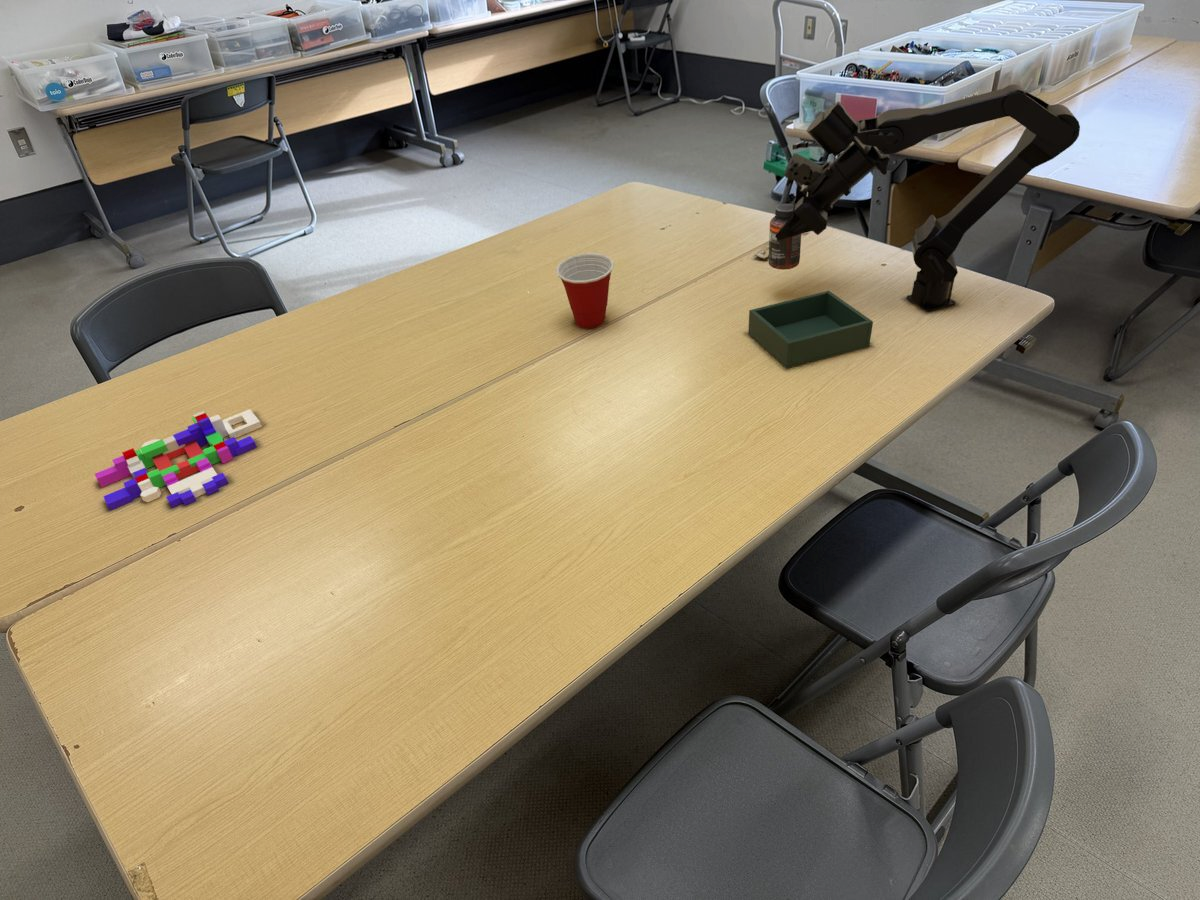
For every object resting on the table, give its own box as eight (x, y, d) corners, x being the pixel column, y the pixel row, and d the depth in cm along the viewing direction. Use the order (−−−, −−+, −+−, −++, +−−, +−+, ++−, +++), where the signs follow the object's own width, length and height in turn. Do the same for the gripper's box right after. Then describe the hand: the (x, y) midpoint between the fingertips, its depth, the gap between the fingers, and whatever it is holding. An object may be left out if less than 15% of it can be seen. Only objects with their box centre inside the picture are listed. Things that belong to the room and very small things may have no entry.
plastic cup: (553, 332, 151) (546, 274, 144) (575, 306, 159) (569, 250, 152) (605, 339, 147) (600, 280, 140) (625, 312, 155) (622, 255, 148)
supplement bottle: (802, 259, 153) (806, 202, 146) (795, 272, 149) (799, 214, 142) (772, 256, 155) (774, 200, 148) (764, 269, 151) (767, 211, 144)
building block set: (120, 534, 112) (106, 510, 110) (92, 468, 126) (79, 446, 123) (288, 460, 124) (279, 437, 121) (246, 407, 137) (237, 385, 135)
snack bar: (769, 240, 176) (782, 237, 174) (771, 246, 177) (783, 244, 175) (752, 255, 170) (765, 253, 168) (754, 262, 170) (767, 259, 169)
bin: (826, 314, 149) (829, 290, 146) (869, 346, 138) (873, 321, 135) (748, 334, 145) (749, 310, 142) (786, 369, 134) (788, 343, 131)
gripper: (816, 124, 144) (753, 184, 153) (812, 156, 130) (743, 220, 139) (856, 167, 147) (792, 223, 156) (856, 203, 133) (785, 263, 142)
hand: (778, 231), depth 148 cm, fingers closed on supplement bottle, 6 cm apart
